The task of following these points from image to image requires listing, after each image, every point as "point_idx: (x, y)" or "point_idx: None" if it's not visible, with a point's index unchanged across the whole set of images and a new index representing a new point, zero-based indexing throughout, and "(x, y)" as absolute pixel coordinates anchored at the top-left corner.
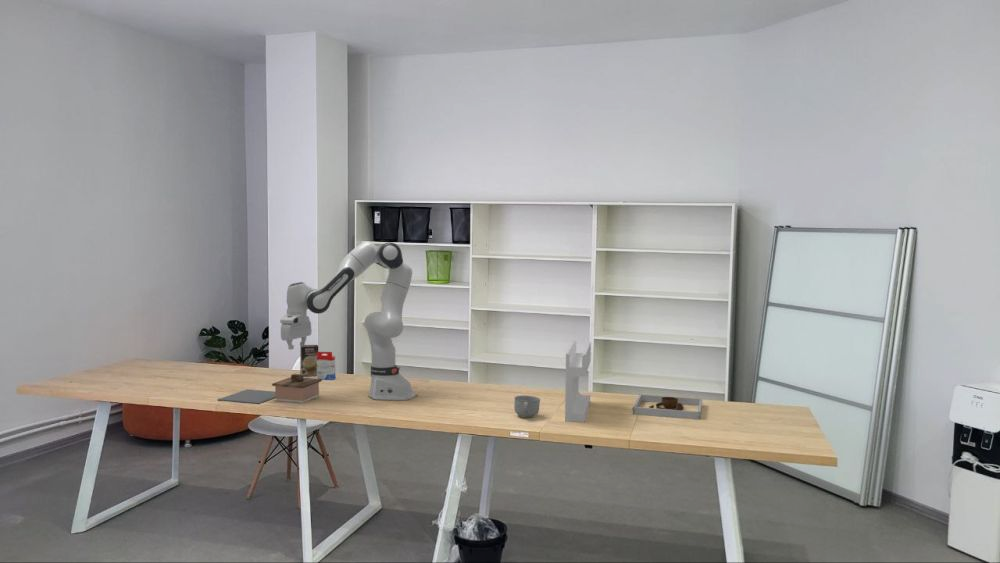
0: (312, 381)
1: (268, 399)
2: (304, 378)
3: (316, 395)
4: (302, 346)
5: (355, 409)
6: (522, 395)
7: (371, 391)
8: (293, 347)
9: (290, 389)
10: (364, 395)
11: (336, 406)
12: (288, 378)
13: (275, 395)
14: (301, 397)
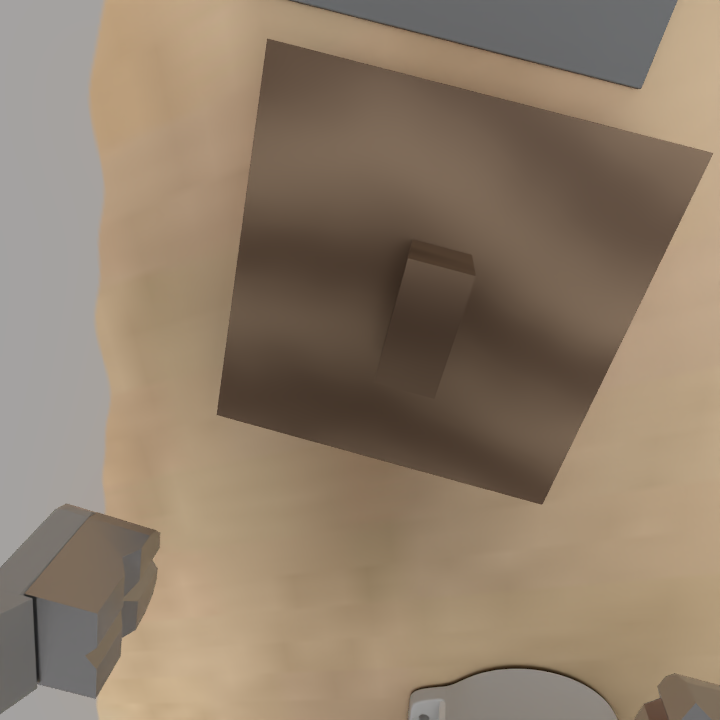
0: (421, 450)
1: (322, 5)
2: (582, 340)
3: None
4: (640, 713)
5: (192, 630)
6: None
7: (468, 716)
8: (121, 635)
9: None
10: (529, 647)
11: (233, 545)
12: (596, 144)
13: (501, 7)
14: None
